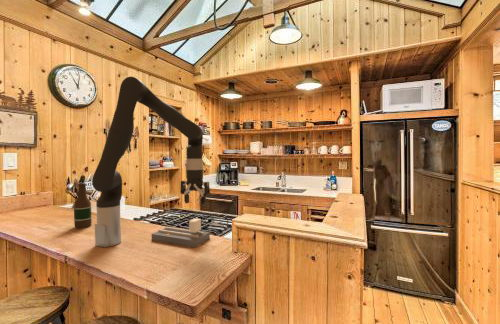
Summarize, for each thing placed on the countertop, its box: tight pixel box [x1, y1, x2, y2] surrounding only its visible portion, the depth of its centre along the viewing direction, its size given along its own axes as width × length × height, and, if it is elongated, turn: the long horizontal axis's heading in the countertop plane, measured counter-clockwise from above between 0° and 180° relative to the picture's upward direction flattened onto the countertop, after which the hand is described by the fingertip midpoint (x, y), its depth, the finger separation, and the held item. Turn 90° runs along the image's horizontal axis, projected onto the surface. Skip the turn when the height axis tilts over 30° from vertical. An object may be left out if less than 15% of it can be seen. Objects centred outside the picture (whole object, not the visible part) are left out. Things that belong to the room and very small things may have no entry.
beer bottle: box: [73, 182, 92, 230], centre depth 134 cm, size 8×8×24 cm
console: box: [151, 226, 211, 249], centre depth 115 cm, size 12×24×4 cm, turn 69°
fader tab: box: [188, 218, 202, 235], centre depth 112 cm, size 5×3×7 cm, turn 159°
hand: (195, 203), depth 112 cm, fingers open, 8 cm apart
